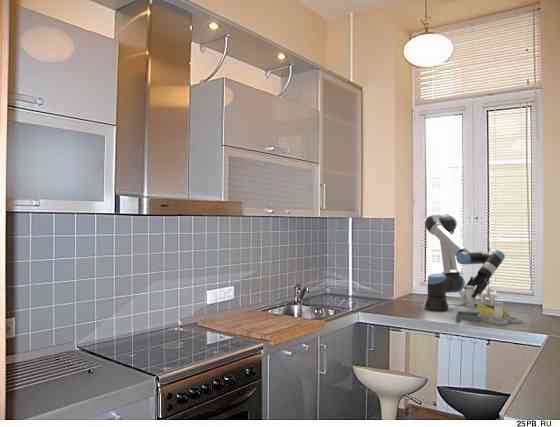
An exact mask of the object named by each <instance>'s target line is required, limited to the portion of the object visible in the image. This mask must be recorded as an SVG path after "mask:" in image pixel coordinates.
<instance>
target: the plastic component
mask: <svg viewBox="0 0 560 427" xmlns="http://www.w3.org/2000/svg"><path fill="white" fill-rule="evenodd" d="M476 308H477V311H478V313H479V314H481V315H487V316H491V317H494V308H492V307H491V306H487V305H485V304H482V302H479V301H477V302H476ZM510 315H511V314H510V313H508V312H507V311H505V310H503V318H504V317H510Z"/></svg>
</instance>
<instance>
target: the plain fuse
mask: <svg viewBox="0 0 560 427" xmlns="http://www.w3.org/2000/svg"><path fill="white" fill-rule="evenodd" d="M503 307H504V302H503V301H496V300H494V303H493V309H494V316H493V318H494V320H496V321H503V318H504V317H503V311H504V308H503Z"/></svg>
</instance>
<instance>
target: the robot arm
mask: <svg viewBox="0 0 560 427" xmlns="http://www.w3.org/2000/svg"><path fill="white" fill-rule="evenodd" d="M457 223H458V222H457V219H456V217H455V216H453V214H449V213H432V214H430V215H428V216H427V217H426V219H425V221H424V225H425V228H426V230H427V231H428V233H430V234H431V235H434V236H435V237H436V238H437V239H438V240H439V244H440V251H441V252H440V253H441V259H442V268H443V271H442V272H441V273H431V274H430V275H428V277H427V281H426V282H427V297H426V301H425V303H424V309H425V310H427V311H432V312H447V311H449V307H450V306H449V304H448V301H447V294H448V293H449V294H451V293H458V292H459V291H461V290H462V289H465V291H464V293H463V295H462V296H461V295H460V299H461V302H462V301H464V300H465V299H466V285H472V286H475V289H474V291H475V292H474V291H473V292H472V293H471V294H470V296H469V297H468V298H467V300H468V301H469V302H471V301H472V300H473V298H475V296H476V295H477V294H481V293H482V292H483V291H485V289H486V287H487V285H488V284H490V283H491V281H490V280H491V277H492V276H493V275H494V273H495V271H497V270H498V269H499V266H500V265H501V264H502V263H503V262H504V259H505V254H504V252H502V251H501V250H499V249H494V250H493V251H492V252H486V251H481V250H475V251H469V250H468V249H467V248H466V247H464V245H462V244H461V242H460V241H458V240H457V239H456V238H455V237H454V236H453V235H454V234H455V230H456V228H457V226H458V224H457ZM457 263H458V264H459V265H464V266H465V265H478V264H480V265H481V267H480V268H479V270H478V271H477V274H476V275H475V276H474V277H473V276H470V279H469V280H468V281H469V282H468V281H467V283H466V281H465V278H464V276H463V275H461V272H460V271H459V269H458V267H457ZM476 297H477V296H476Z"/></svg>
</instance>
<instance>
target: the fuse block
mask: <svg viewBox="0 0 560 427" xmlns="http://www.w3.org/2000/svg"><path fill="white" fill-rule="evenodd" d="M486 323H488V324H490V325H491V324H492V325H495V326H499V327H500V326H510V325H518V324H519V325H520V324H524V322H523V318H518V317H514V316H509V317H503V321H496V320H494V317H493V318H488V321H486Z"/></svg>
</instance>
